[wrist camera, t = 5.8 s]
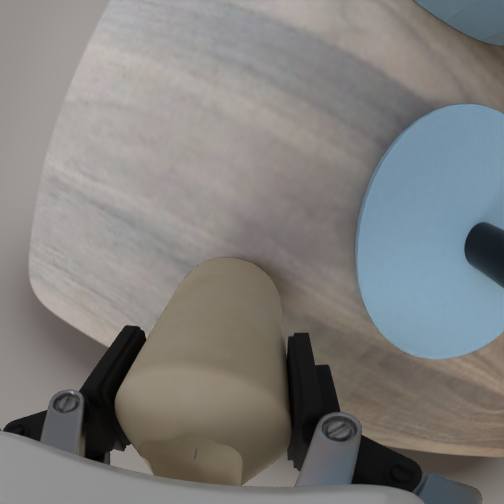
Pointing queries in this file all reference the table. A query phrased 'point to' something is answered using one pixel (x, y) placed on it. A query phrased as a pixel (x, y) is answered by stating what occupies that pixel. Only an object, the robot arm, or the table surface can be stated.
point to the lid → (436, 234)
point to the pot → (471, 17)
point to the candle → (212, 379)
